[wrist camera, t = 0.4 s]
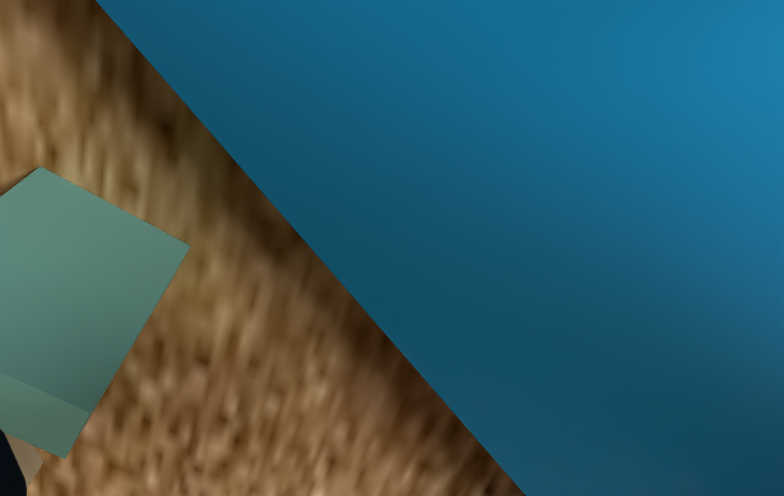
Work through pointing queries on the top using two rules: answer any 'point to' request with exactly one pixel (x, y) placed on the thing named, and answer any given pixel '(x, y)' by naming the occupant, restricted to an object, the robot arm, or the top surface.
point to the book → (531, 210)
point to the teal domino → (70, 303)
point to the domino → (25, 457)
